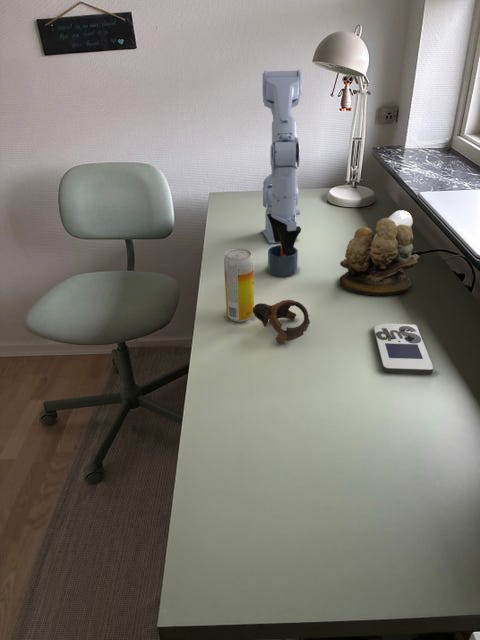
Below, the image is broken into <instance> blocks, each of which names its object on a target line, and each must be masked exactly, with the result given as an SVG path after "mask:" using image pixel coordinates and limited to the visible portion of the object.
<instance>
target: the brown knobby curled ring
mask: <svg viewBox="0 0 480 640" xmlns="http://www.w3.org/2000/svg"><path fill="white" fill-rule="evenodd" d="M291 307H297V308H298V309H299V310H300V311H301V312H302V314H303V321H302V323H301V324H300V325H298V326H295V327H288V326H286V330H285V329H283V328H282V325H283V324H282V323H281V322H280V320H279V319H286V320H287V319H288V320H290V321H292V322H294V321H295V319H296V316H297V313H295V312H293V311H291V310H290V308H291ZM253 313H254V314H253V316H255V318H256V319H258V320H259V321H260V322H261V323H262V324H263V327H264V328H266V327H268V326H267V325H268V323H269V324H270V325H271V326H272V328H273V330H274V331H275V332H276V333H277V335H276V337H275V342H277V343H278V344H281V345H282V344H285V343H286V342H290V341H293V340H296V339H298V338H300V337H302V336H303V335H304V333H305V332H307V330H308V328H309V325H310V324H311V321H310V318H309V312H308V309H307V308H306V306H304V305H303V304H302V303H301V302H299V301H296V300H293V299H284V300H281V301H278V302H276V303H274V304H267V303H257V304H254V308H253Z"/></svg>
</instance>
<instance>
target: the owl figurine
mask: <svg viewBox="0 0 480 640" xmlns="http://www.w3.org/2000/svg"><path fill="white" fill-rule="evenodd" d="M375 232H376V233H374V231H373V230H372V229H371V228H369V227H360V228H358V229H357V230H356V231H355V232H354V236H353V238H352V239H350V240H349V241H348V244H347V246H346V250H345V256H344V257H345V258H344V259H343V260H341V261H340V262H339V266H341V267H342V268H343V269H347V271H346V272H345V273H344V274H342V275H341V276H340V277H339V285H340V286H341V287H342V288H343V290H346V291H348V292H350V293H354V294H357V295H358V294H359V295H365V296H379V297H380V296H395V295H399V294H403V293H405V292H407V291H409V290H410V289H411V288H412V285H413V282H412V279H411V278H410V276H408V275H407V274H405V272H404V271H405V270H411V269H412V268H413V267H415V265H416V264H418V260H419V259H420V255H418V254H416V253H414V254H412V252H413V249H414V245H413V244H412V243H413V241H414V234H413V228H412V226H411V227H410V226H407V225H398V226H396V224H395V222H394V221H393V220H391V219H389V217H382V218H381V219H379V220H378V221H377V222H376V225H375ZM375 235H376V236H375Z"/></svg>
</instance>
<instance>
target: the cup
mask: <svg viewBox="0 0 480 640" xmlns="http://www.w3.org/2000/svg"><path fill="white" fill-rule="evenodd" d="M298 254H299V250H298V249H297V247H295V246H294V247H293V251H292V253H291V254H285V256H281V244H278V245H273V246H271V247H270V248H268V250H267V272H268V273H269V274H270V275H272V276H273V277H278V278H287V277H291V276H294V275H295V274H296V273H297V272H298V260H299V259H298V256H299V255H298Z"/></svg>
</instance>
